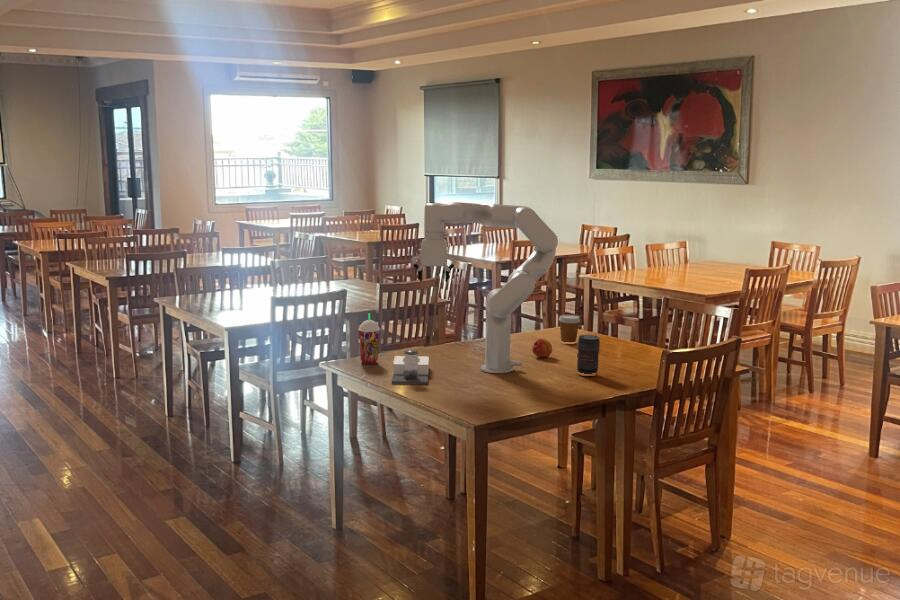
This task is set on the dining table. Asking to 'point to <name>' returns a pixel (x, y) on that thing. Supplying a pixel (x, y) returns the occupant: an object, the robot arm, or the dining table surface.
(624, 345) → the dining table surface
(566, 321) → the disposable coffee cup
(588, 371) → the camera lens
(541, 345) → the fruit
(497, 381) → the dining table surface
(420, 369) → the socket block
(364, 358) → the smoothie
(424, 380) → the rubber pad
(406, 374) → the steel plug
